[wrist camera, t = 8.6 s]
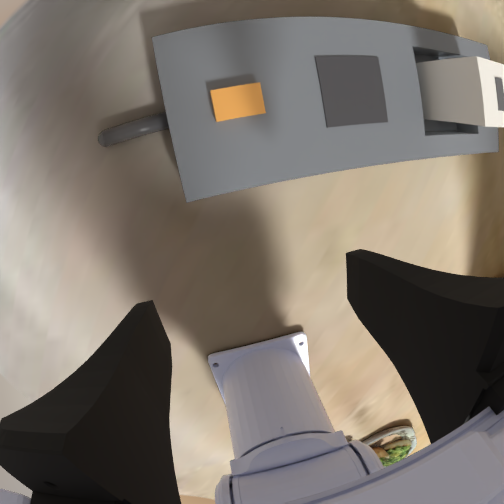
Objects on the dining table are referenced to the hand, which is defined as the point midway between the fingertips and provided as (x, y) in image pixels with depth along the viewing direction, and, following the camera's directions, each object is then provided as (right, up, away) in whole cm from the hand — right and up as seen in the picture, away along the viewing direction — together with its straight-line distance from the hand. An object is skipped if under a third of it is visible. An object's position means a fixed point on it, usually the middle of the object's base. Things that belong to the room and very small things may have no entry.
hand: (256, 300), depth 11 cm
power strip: (+5, +12, +6) cm, 14 cm away
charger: (+13, +13, +7) cm, 20 cm away
